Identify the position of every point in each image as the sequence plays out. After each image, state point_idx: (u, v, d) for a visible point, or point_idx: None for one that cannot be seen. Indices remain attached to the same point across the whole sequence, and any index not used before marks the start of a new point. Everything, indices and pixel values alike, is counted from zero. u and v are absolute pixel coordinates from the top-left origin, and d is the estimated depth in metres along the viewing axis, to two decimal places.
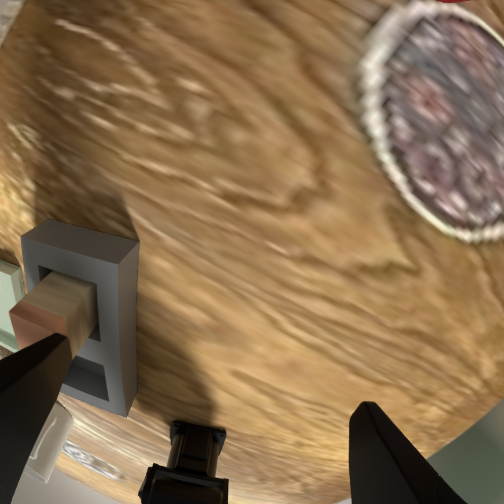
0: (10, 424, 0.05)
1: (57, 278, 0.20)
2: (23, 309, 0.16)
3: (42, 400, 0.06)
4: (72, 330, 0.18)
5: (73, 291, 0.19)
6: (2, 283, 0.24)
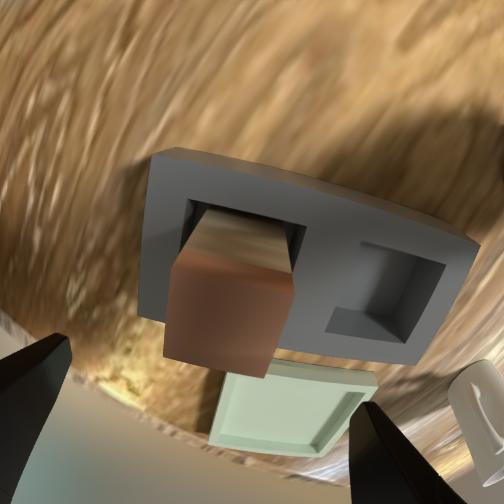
0: (10, 424, 0.05)
1: None
2: None
3: (42, 400, 0.06)
4: (232, 250, 0.12)
5: None
6: (255, 388, 0.23)
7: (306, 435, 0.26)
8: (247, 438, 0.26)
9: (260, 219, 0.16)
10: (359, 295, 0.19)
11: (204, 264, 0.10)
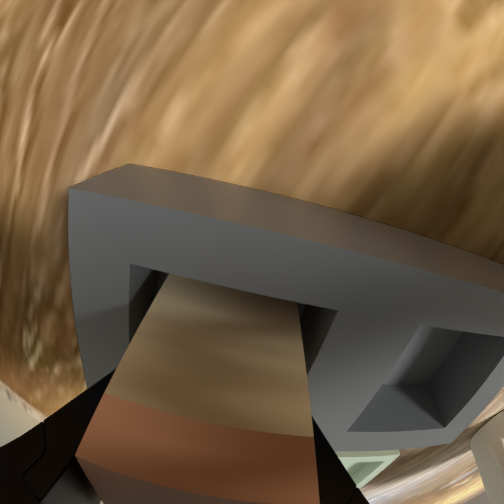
0: None
1: None
2: None
3: None
4: (200, 387, 0.06)
5: None
6: None
7: None
8: None
9: None
10: (392, 368, 0.13)
11: (141, 441, 0.04)
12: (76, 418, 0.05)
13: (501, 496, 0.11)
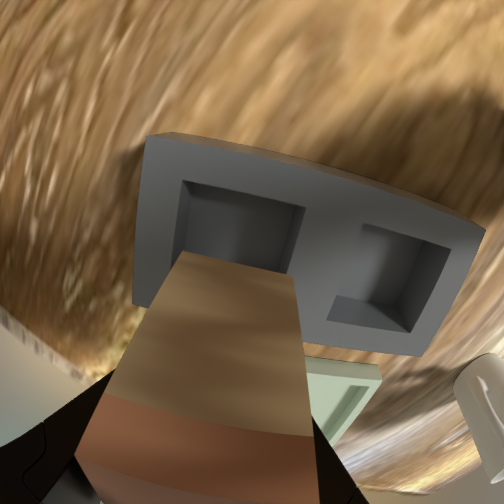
0: None
1: None
2: None
3: None
4: (200, 387, 0.06)
5: None
6: None
7: None
8: None
9: (258, 284, 0.10)
10: (361, 283, 0.18)
11: (140, 441, 0.04)
12: (76, 418, 0.05)
13: (485, 434, 0.16)
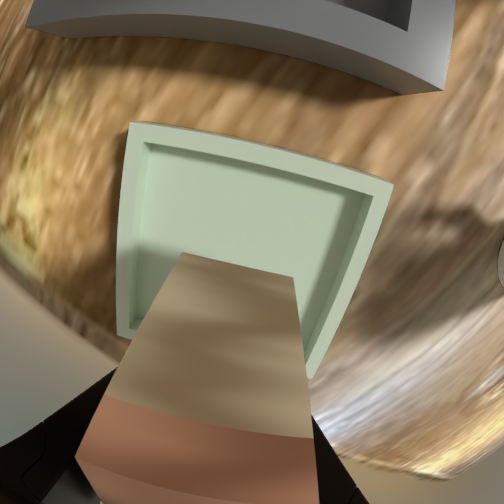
0: None
1: None
2: None
3: None
4: (200, 389, 0.06)
5: None
6: (179, 193, 0.14)
7: None
8: None
9: (258, 285, 0.10)
10: None
11: (140, 443, 0.04)
12: (76, 418, 0.05)
13: None
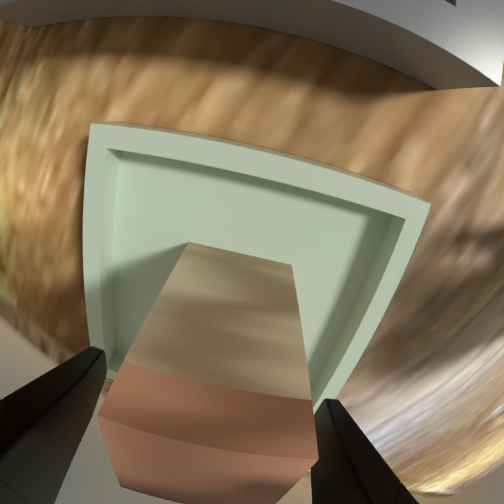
0: (50, 446, 0.05)
1: None
2: None
3: (80, 418, 0.06)
4: (210, 356, 0.06)
5: None
6: (156, 212, 0.11)
7: None
8: None
9: (260, 271, 0.11)
10: None
11: (157, 401, 0.05)
12: (32, 397, 0.05)
13: None
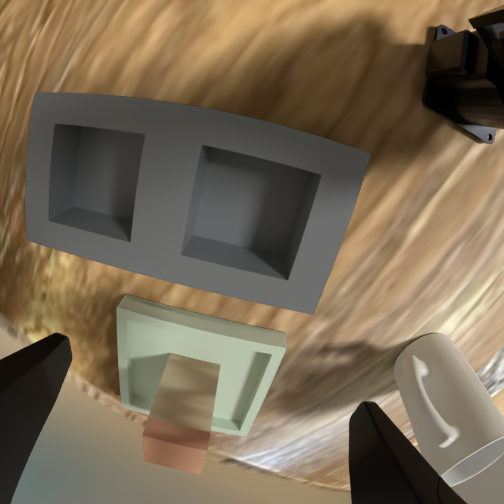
0: (10, 424, 0.05)
1: None
2: None
3: (42, 400, 0.06)
4: (177, 414, 0.17)
5: None
6: (153, 339, 0.22)
7: (224, 408, 0.25)
8: None
9: (203, 371, 0.22)
10: (239, 227, 0.18)
11: (160, 430, 0.16)
12: None
13: (424, 427, 0.16)
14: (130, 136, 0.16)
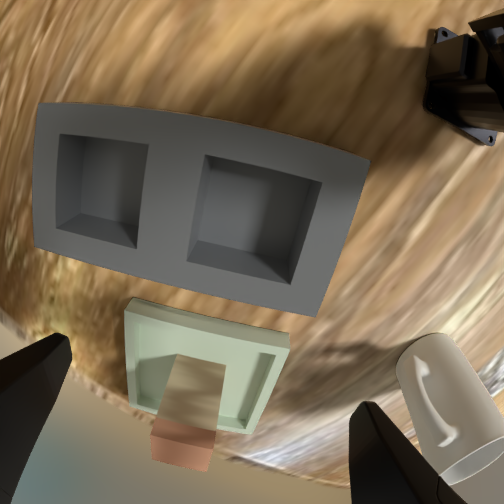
0: (10, 424, 0.05)
1: None
2: None
3: (42, 400, 0.06)
4: (184, 414, 0.18)
5: None
6: (160, 341, 0.23)
7: (230, 407, 0.26)
8: None
9: (209, 371, 0.22)
10: (242, 232, 0.18)
11: (167, 429, 0.17)
12: None
13: (424, 426, 0.16)
14: (134, 144, 0.16)
